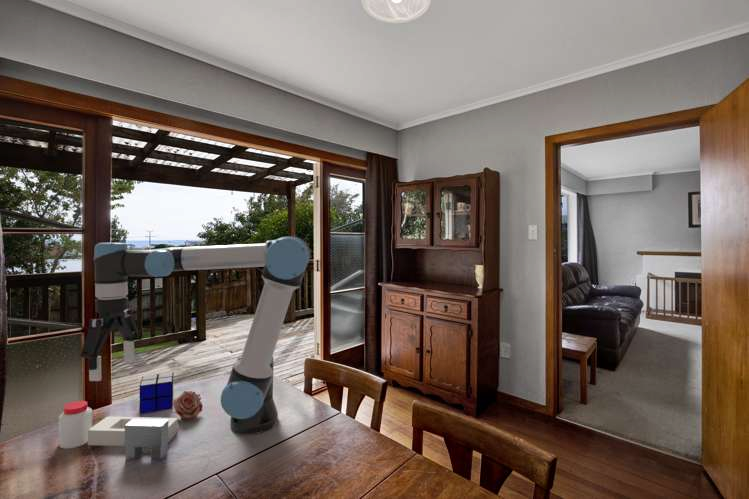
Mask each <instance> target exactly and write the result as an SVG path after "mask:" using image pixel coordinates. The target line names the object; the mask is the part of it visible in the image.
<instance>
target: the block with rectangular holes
mask: <svg viewBox="0 0 749 499" xmlns="http://www.w3.org/2000/svg"><path fill="white" fill-rule="evenodd" d="M132 419H159V420H168V441H167V444H168V443H170V441H171V440H172V439H173V438H174V436H176V435H177V433H178V431H179V430H178V429H179V418H178V417H150V416H149V417H148V416H147V417H144V416H142V417H141V416H105V417H104V418H103V419H101V420H100V421H99V422H97V423H96V424H94V425H92V428H90V429H89V430H88V442H87V446H104V447H105V446H110V447H112V446H113V447H125V425H126V424H127V423H128V422H130V421H131V420H132Z"/></svg>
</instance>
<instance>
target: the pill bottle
mask: <svg viewBox="0 0 749 499" xmlns="http://www.w3.org/2000/svg"><path fill="white" fill-rule="evenodd" d="M92 427H93V409H92V408H91V407H89V406H88V401H86V400H78V401H73V402H69V403H68V404H65V405H64V406H63V412H62V413H61V414H60V415H59V416H58V446H59V448H61V449H75V448H78V447H81V446H84V445H85V444H88V430H89V429H90V428H92Z"/></svg>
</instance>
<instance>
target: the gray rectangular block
mask: <svg viewBox="0 0 749 499" xmlns="http://www.w3.org/2000/svg"><path fill="white" fill-rule="evenodd" d="M167 441H168V420H159V419H132V420H131V421H130V422H128V423H127V424H126V425H125V446H124V448H125V462H129V461H130V462H135V461H136V460H137V459H138V458H139V457H140V456H141V455H143V452H144V451H143V448H150V449H151V451H150V453H151V454H150V457H151V458H150V459H151V460H150V461H151V462H161V461H163V459H164V458H165V457H166V456H167V455H168V443H167Z"/></svg>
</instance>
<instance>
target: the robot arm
mask: <svg viewBox="0 0 749 499" xmlns="http://www.w3.org/2000/svg"><path fill="white" fill-rule="evenodd" d="M93 252H94V253H93V262H94V264H93V265H94V286H95V287H94V288H95V289H94V291H95V292H94V296H95V297H96V299H95V301H94V303H95V304H94V305H95V309H94V310H95V312H96V313H98V314H99V317H98V318H97V319H96V318H91V319H89V323H88V330H87V333H86V337H85V340H84V344H83V346H82V349H81V352H80V358H85V359H86V358H87V369H88V374H89V375H88V378H89V379H88V380H89V381H90V382H101V381H102V378H103V377H102V376H103V375H102V356H101V355H100V353H101V351H102V349H103V347H104V344H105V342H106V341H107V338H108V337H109V335H111V333H112V332H113V331H115V330H118V332H119V334H121V335H122V337H123V339H125V340H123V364H124V363H127V364H128V363H130V364H131V363H135V347H136V346H135V341H138V340H139V336H140V334H141V333H140V331H139V327H138V326H137V323H136V321H135V318H134V314H133V309H131V308H130V309H129V298H128V297H127V296H128V294H129V287H128V285H129V284H128V277H153V278H158V277H167V276H169V275H171V274H172V272H182V271H197V270H198V271H200V270H216V269H217V270H219V269H220V270H221V269H241V268H257V267H258V268H259V267H261V268H262V267H263V270H262V273H261V278H262V279H263V282H264V285H263V287H262V291H261V293H260V296H259V301H258V304H257V306H256V310H255V312H254V316H253V320H252V322H251V326H250V329H249V331H248V334H247V338H246V342H245V345H244V347H243V351H242V354H241V355H239V356H237V360H236V361H234V363H233V364H232V365H233V366H232V368H231V372H230V375H229V377H228V380H227V384H226V386H224V388H223V389H222V392H221V395H220V405H221V408H222V409H223V410H224V412H225V413H226V414H227V415H228V416H230V423H229V424H230V428H231V430H232V431H234V430H235V431H234V432H236V433H238V432H239V433H238V434H243V433H254V434H258V433H257V432H260V433H262V432H261V431H263V432H265V431H264V430H266V431H268V430H270V429H271V427H272V426H273V425H274V424H275V423H276V422H278V420H279V419H278V418H279V416H278V414H279V412H278V410H277V407H276V404H275V399H274V397H273V396H274V365H275V359H274V356H273V355H274V353H275V350H276V346H277V344H278V340H279V337H280V335H281V331H282V328H283V325H284V321H285V318H286V314H287V312H288V310H289V306H290V303H291V299H292V296H293V293H294V291H295V290H297V289H299V288H300V287H301V284H302V282H303V278H304V275H305V272H306V269H307V267H308V264H309V263H310V259H311V250H310V247H309V244H307V242H306V241H305V240H304V239H303V238H301V237H297V236H292V235H291V236H288V235H287V236H282V237H279V238H276V239H268V240H266V242H265V243H245V244H226V245H223V244H221V245H201V246H198V245H197V246H184V247H180V246H178V247H176V246H170V247H169V246H168V247H164V248H153V249H134V250H133V249H128V246H127V243H125V242H98V243H96V244H95V245H94V251H93ZM276 424H277V423H276ZM276 424H275V425H276ZM275 425H274V426H275ZM274 426H273V427H274ZM273 427H272V428H273ZM269 428H270V429H269ZM267 429H268V430H267Z"/></svg>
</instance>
